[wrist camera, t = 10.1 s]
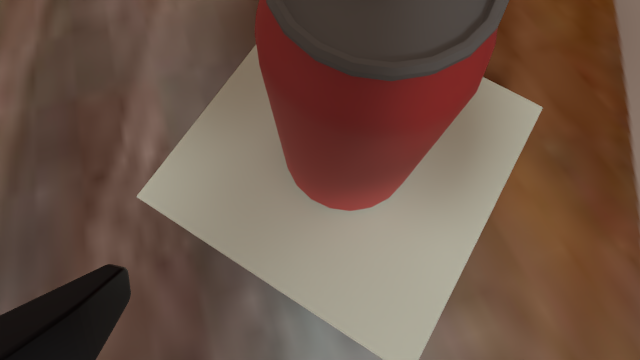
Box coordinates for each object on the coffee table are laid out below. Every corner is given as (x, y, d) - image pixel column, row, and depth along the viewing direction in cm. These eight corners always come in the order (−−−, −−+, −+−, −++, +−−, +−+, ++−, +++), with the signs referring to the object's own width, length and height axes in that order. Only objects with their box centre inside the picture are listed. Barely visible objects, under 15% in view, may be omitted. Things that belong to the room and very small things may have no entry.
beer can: (331, 77, 21) (346, -180, 9) (431, 139, 20) (587, -66, 8) (261, 167, 19) (173, -9, 8) (364, 239, 18) (442, 159, 7)
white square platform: (507, 135, 24) (543, 107, 20) (392, 360, 20) (410, 377, 16) (304, 28, 26) (302, -15, 23) (167, 211, 23) (136, 196, 19)
